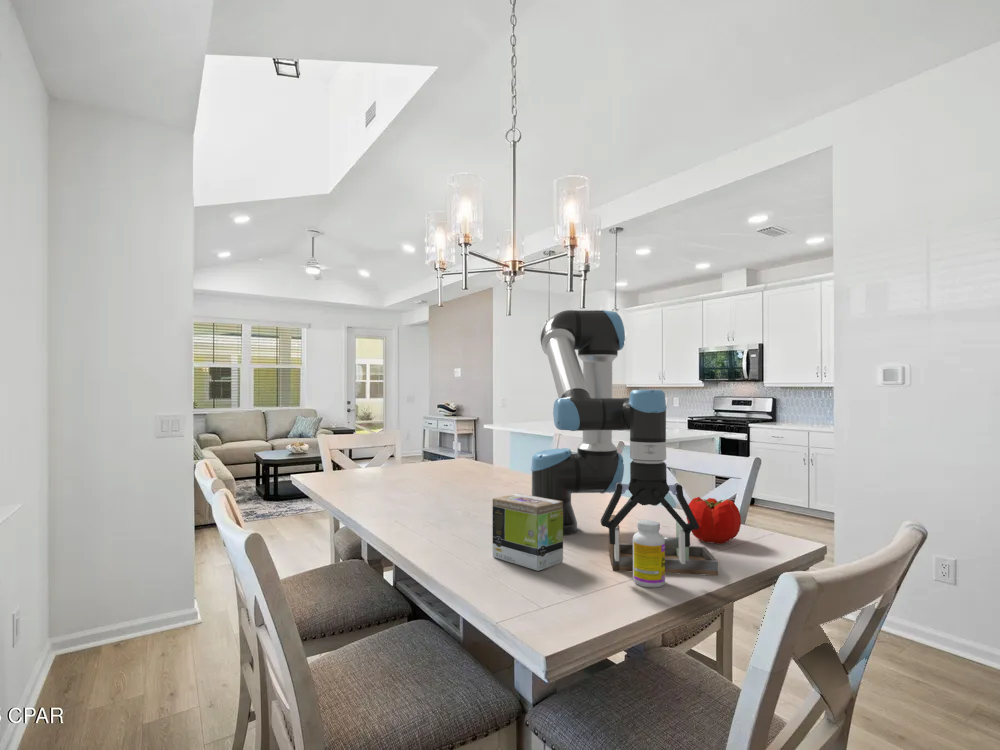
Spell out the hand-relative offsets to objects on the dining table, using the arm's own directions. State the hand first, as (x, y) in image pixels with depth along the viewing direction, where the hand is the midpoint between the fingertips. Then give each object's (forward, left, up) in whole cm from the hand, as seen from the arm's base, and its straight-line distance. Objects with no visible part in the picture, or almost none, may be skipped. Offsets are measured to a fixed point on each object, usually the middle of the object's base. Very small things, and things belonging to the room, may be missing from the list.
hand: (649, 560), depth 111 cm
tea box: (-27, +12, -5) cm, 30 cm away
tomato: (+22, +34, -5) cm, 41 cm away
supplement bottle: (0, 0, -5) cm, 5 cm away
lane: (+4, +12, -5) cm, 14 cm away
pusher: (+7, +12, -3) cm, 15 cm away
